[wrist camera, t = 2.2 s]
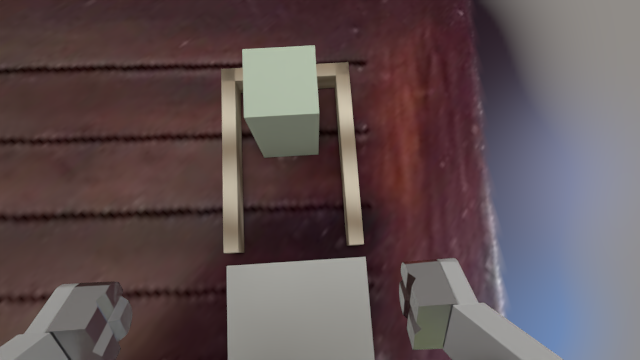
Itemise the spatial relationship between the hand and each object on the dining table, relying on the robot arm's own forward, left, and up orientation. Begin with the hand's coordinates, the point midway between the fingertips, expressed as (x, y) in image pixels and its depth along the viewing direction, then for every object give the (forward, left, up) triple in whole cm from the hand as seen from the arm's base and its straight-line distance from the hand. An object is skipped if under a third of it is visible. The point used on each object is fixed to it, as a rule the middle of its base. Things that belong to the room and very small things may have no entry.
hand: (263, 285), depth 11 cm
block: (-10, +8, -22) cm, 26 cm away
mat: (+4, -4, -22) cm, 23 cm away
